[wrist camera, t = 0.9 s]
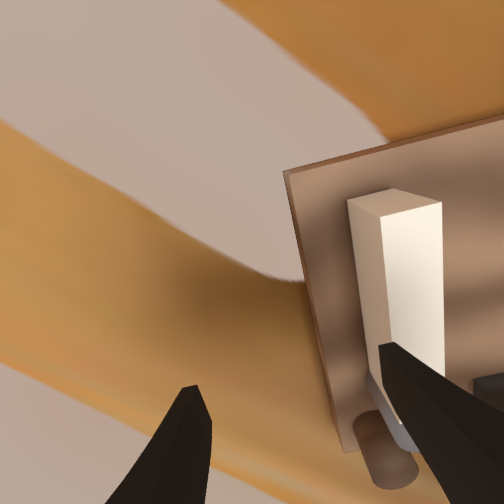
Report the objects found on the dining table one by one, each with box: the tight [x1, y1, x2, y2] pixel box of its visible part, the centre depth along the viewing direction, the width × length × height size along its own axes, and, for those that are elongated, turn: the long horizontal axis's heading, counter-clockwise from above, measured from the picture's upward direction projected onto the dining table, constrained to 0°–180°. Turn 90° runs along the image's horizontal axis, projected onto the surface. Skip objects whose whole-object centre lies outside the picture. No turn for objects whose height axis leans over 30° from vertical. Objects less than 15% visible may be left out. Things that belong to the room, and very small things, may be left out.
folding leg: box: [347, 188, 445, 452], centre depth 16 cm, size 15×3×4 cm, turn 14°
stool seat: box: [283, 114, 504, 490], centre depth 18 cm, size 22×22×6 cm
